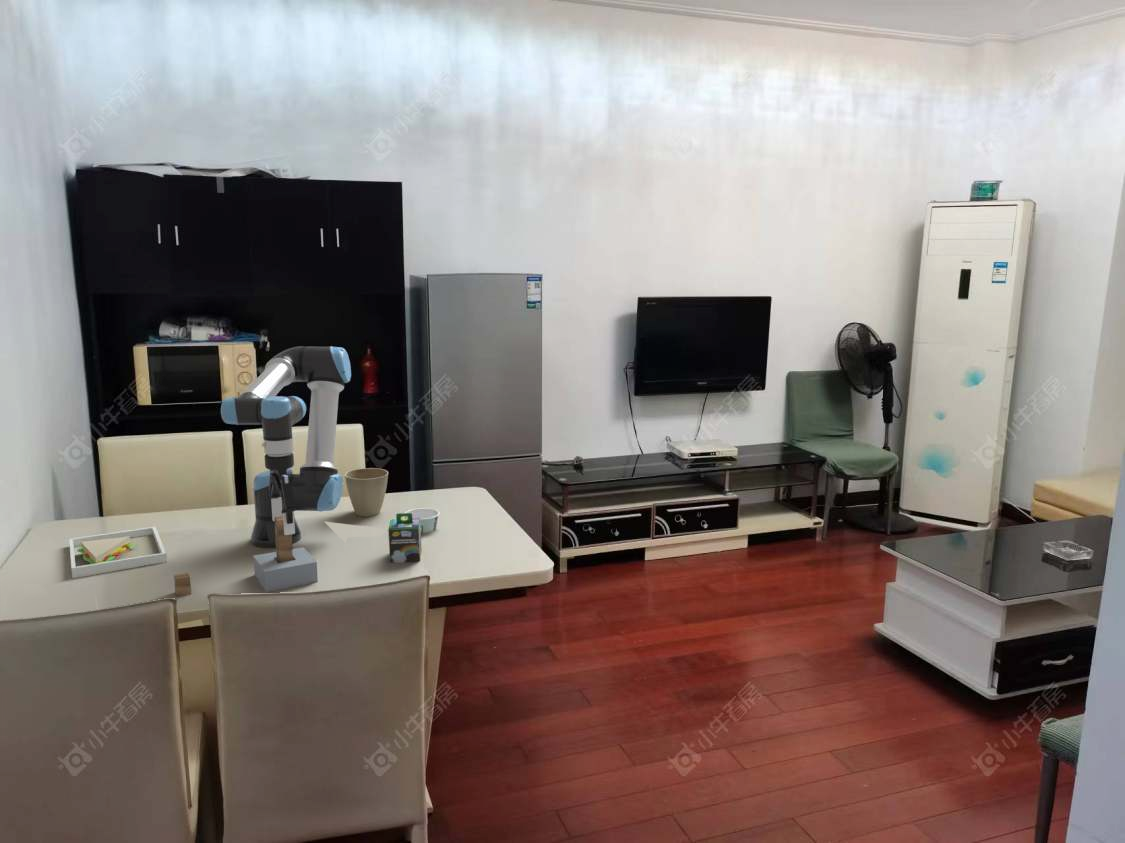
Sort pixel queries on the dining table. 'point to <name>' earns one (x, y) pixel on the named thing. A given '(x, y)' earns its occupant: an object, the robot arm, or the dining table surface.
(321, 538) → the dining table surface
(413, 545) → the chalk box
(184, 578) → the short pin
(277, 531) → the long wooden block
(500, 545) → the dining table surface
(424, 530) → the food container
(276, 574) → the hole block
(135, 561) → the sandwich plate rim
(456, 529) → the dining table surface
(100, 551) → the sandwich
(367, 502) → the plant pot
